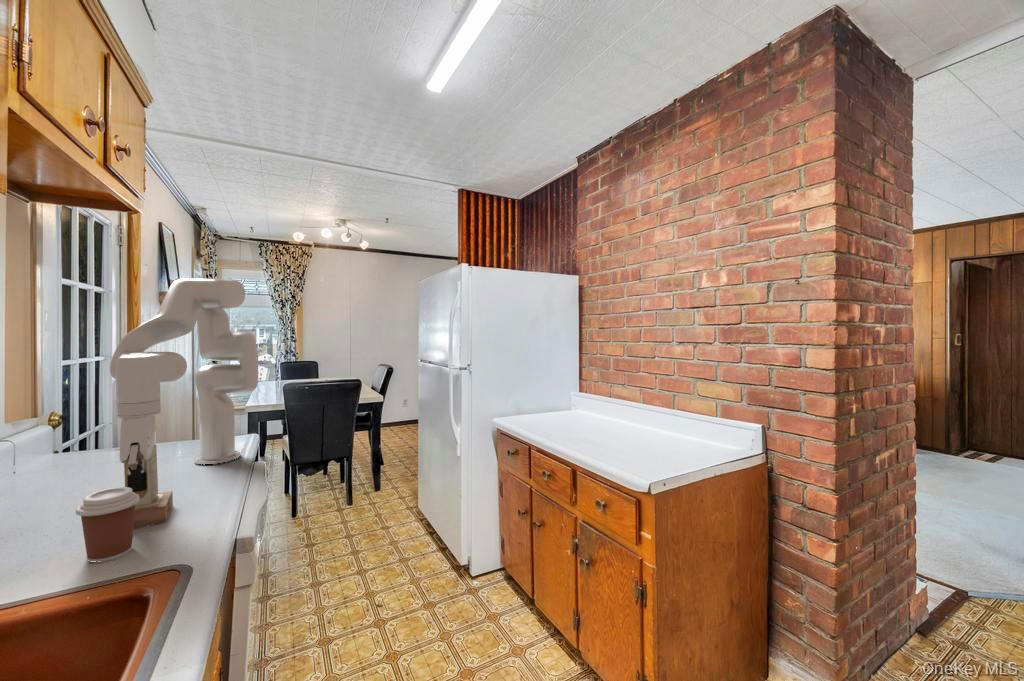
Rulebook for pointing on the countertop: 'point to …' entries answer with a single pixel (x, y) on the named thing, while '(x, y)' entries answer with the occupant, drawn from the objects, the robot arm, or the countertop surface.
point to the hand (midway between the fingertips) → (141, 484)
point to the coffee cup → (108, 522)
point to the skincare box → (152, 478)
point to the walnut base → (154, 510)
